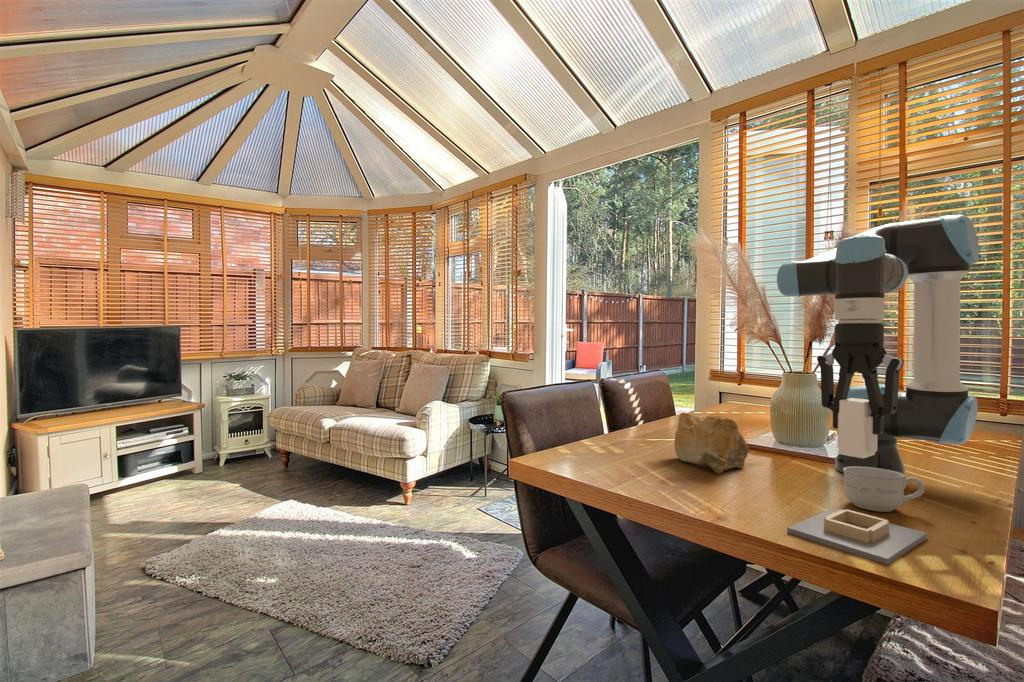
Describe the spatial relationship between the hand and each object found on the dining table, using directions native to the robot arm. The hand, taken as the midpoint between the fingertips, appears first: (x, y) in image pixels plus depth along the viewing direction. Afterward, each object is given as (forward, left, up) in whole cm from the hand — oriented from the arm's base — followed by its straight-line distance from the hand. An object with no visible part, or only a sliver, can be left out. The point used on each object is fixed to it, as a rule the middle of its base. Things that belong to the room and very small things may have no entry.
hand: (857, 448), depth 94 cm
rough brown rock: (-22, -43, -16) cm, 51 cm away
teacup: (-20, -3, -16) cm, 26 cm away
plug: (0, 0, -1) cm, 1 cm away
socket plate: (0, 0, -16) cm, 16 cm away
